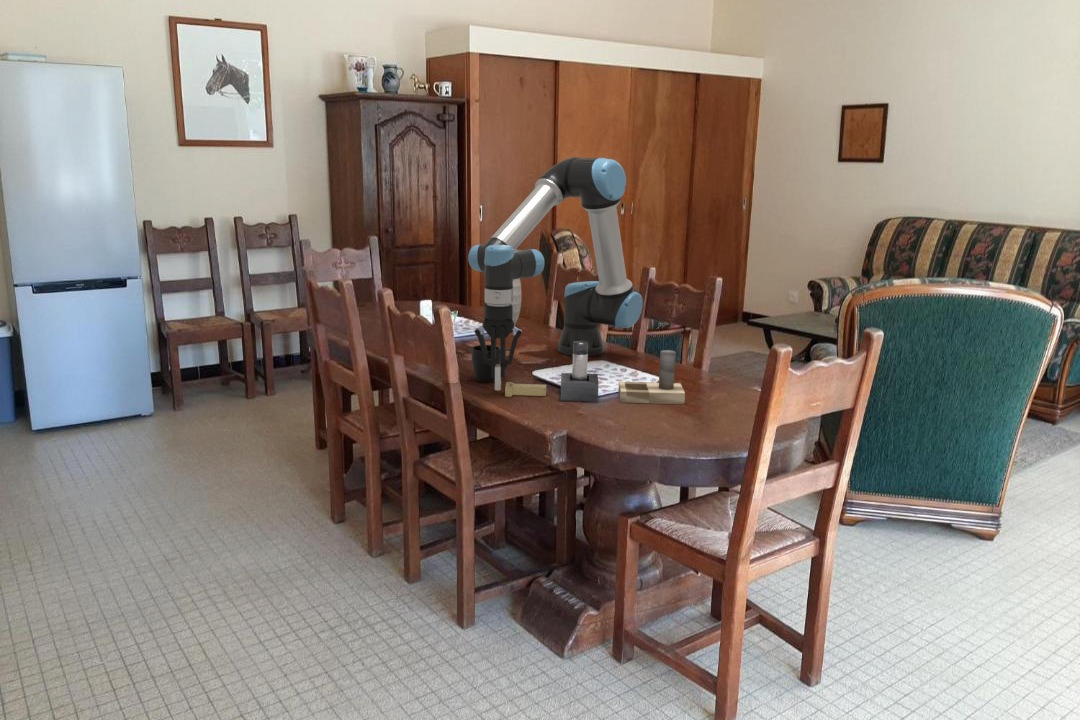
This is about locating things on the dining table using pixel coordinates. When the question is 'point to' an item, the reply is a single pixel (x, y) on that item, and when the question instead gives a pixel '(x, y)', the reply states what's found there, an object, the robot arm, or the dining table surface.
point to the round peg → (580, 361)
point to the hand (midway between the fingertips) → (498, 388)
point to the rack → (655, 386)
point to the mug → (480, 367)
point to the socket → (579, 388)
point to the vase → (516, 299)
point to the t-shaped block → (524, 389)
